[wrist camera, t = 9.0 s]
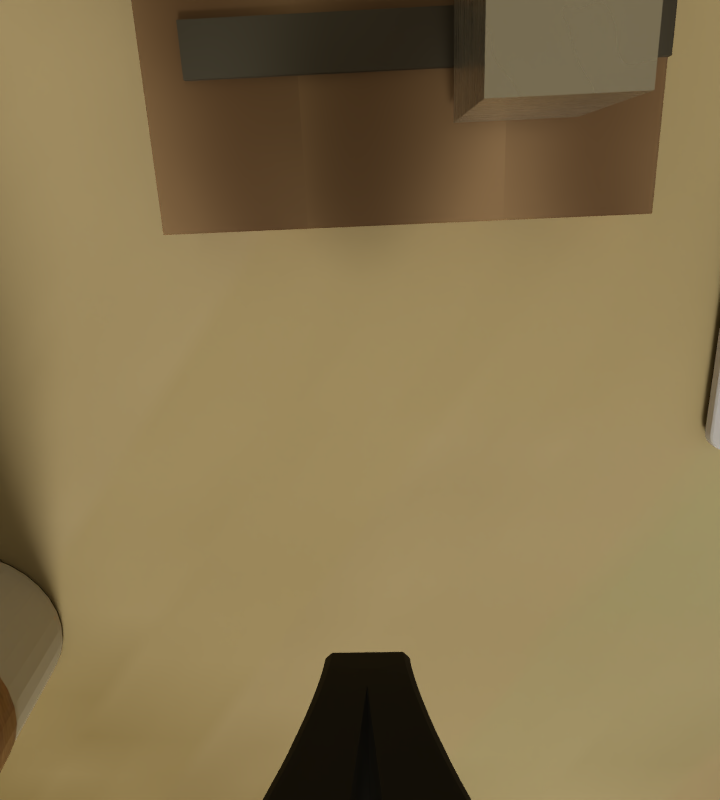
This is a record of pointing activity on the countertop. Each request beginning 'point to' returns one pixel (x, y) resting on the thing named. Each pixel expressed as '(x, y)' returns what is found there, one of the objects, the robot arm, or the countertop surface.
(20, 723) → the coffee cup
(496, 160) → the brown flat board
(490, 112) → the slider knob
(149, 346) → the countertop surface
